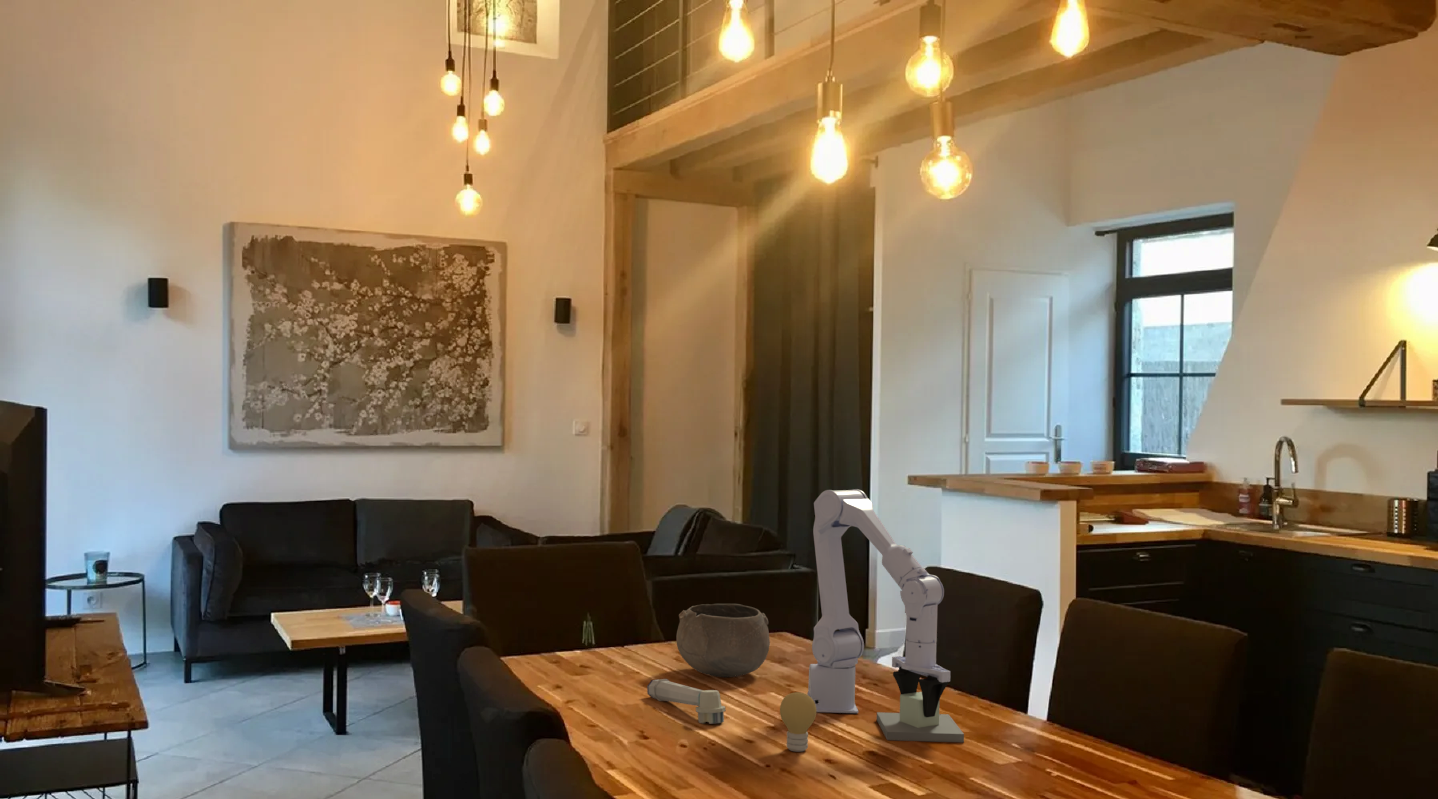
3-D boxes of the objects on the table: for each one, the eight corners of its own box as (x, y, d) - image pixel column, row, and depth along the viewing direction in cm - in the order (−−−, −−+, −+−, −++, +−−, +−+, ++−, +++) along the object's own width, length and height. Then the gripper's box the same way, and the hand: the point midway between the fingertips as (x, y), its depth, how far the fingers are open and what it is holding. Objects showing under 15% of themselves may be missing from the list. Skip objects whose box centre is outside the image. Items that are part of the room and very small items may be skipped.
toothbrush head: (665, 677, 239) (729, 685, 218) (667, 709, 238) (731, 721, 217) (643, 679, 236) (706, 688, 215) (644, 712, 235) (707, 724, 214)
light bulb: (820, 754, 199) (822, 696, 199) (786, 756, 197) (787, 697, 197) (807, 744, 205) (809, 687, 205) (773, 745, 203) (775, 689, 204)
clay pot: (785, 673, 262) (786, 607, 263) (737, 690, 245) (739, 619, 245) (707, 660, 274) (709, 597, 274) (657, 676, 256) (659, 608, 256)
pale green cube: (899, 721, 217) (900, 694, 217) (920, 717, 220) (921, 691, 220) (917, 727, 213) (918, 700, 213) (939, 724, 215) (939, 697, 215)
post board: (887, 740, 209) (887, 712, 209) (876, 720, 223) (877, 694, 223) (963, 742, 209) (964, 714, 209) (948, 722, 223) (949, 696, 223)
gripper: (880, 635, 221) (878, 705, 221) (930, 649, 208) (928, 724, 208) (908, 632, 224) (906, 702, 224) (959, 646, 212) (957, 720, 212)
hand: (919, 712), depth 216 cm, fingers closed on pale green cube, 5 cm apart
